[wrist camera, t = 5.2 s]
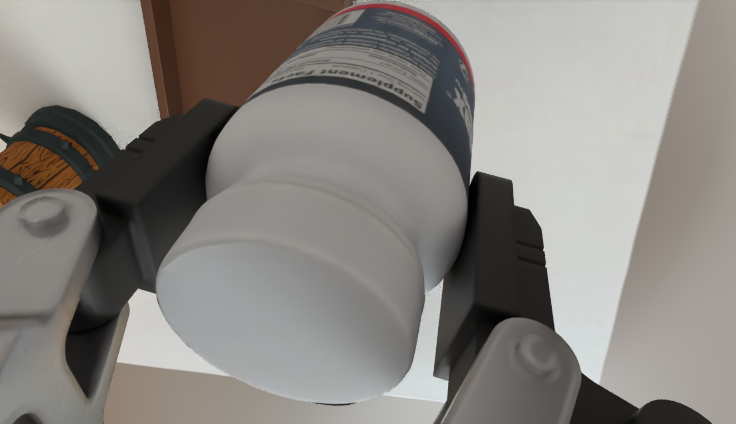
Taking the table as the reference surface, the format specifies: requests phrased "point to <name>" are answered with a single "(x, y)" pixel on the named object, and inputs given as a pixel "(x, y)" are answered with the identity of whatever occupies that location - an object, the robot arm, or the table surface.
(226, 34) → the tray
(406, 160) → the pill bottle
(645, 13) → the table surface
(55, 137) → the mug
